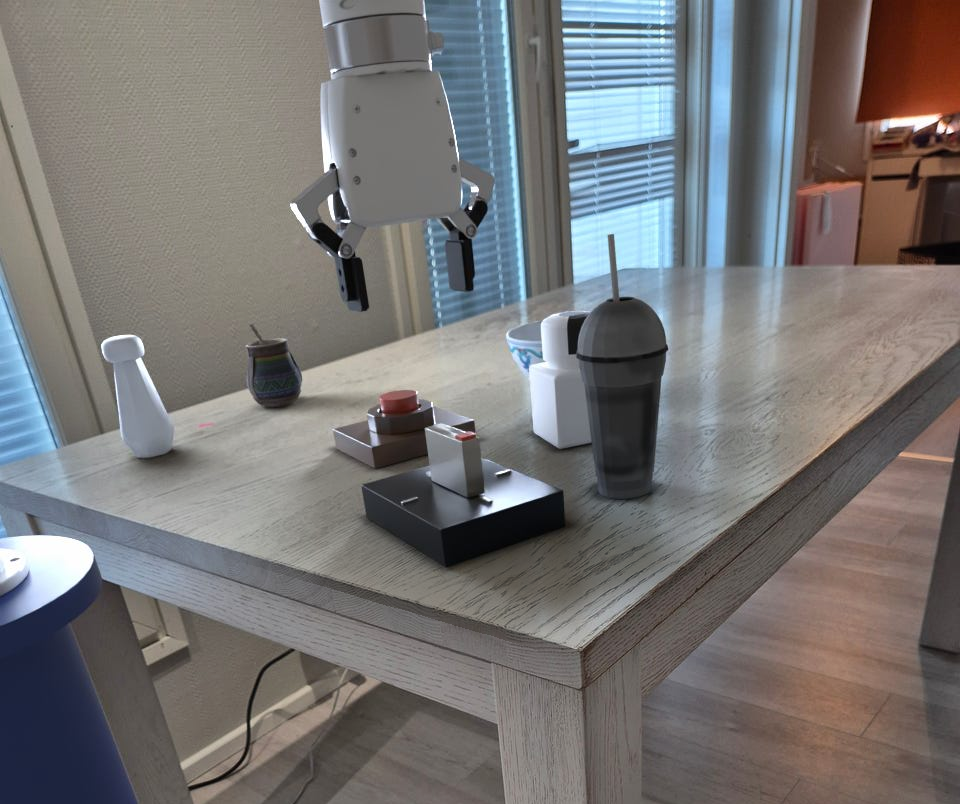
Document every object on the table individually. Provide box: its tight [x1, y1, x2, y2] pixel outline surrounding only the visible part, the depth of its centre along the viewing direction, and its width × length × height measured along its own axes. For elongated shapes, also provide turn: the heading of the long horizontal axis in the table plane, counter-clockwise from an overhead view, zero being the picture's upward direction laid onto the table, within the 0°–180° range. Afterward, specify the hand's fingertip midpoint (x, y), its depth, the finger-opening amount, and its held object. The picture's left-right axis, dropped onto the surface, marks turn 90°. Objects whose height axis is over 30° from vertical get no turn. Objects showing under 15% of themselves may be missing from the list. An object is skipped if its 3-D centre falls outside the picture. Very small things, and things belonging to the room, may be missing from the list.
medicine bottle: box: [529, 310, 592, 450], centre depth 86 cm, size 7×7×12 cm
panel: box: [360, 457, 566, 568], centre depth 71 cm, size 11×14×3 cm
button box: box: [332, 398, 477, 469], centre depth 92 cm, size 12×10×4 cm
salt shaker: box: [101, 334, 175, 458], centre depth 97 cm, size 6×6×13 cm
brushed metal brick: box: [425, 423, 485, 498], centre depth 69 cm, size 6×2×5 cm, turn 32°
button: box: [378, 389, 419, 414], centre depth 91 cm, size 4×4×2 cm
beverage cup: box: [576, 233, 669, 500], centre depth 69 cm, size 7×7×20 cm
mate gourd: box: [244, 323, 303, 409], centre depth 114 cm, size 7×8×10 cm
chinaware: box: [505, 319, 546, 381], centre depth 102 cm, size 15×15×8 cm
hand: (411, 300), depth 72 cm, fingers open, 9 cm apart
